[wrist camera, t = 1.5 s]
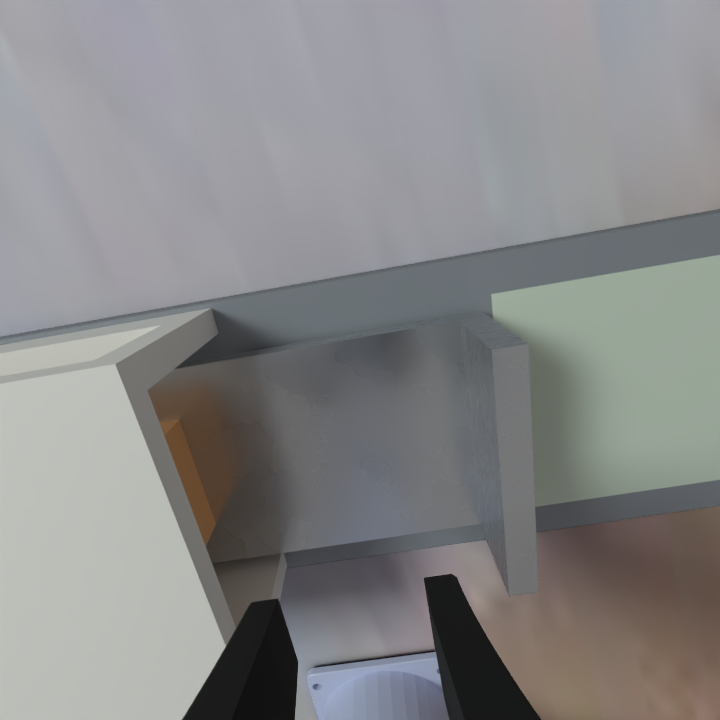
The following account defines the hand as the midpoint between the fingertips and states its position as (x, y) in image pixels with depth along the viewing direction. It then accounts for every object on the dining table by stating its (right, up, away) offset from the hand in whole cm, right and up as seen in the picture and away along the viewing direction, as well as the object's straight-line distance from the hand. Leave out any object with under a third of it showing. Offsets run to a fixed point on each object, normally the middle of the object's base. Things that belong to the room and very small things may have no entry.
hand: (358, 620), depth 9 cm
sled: (-4, +2, +8) cm, 9 cm away
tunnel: (-9, +1, +9) cm, 13 cm away
